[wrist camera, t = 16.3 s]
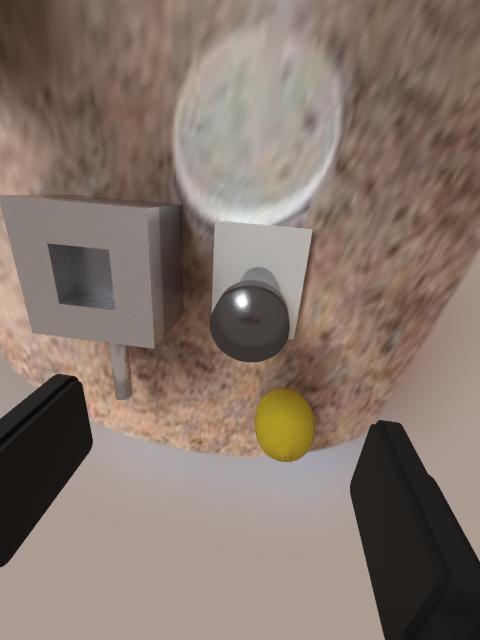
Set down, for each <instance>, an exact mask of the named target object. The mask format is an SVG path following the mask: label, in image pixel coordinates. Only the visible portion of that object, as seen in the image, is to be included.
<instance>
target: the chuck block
mask: <svg viewBox="0 0 480 640" xmlns="http://www.w3.org/2000/svg"><path fill="white" fill-rule="evenodd" d="M0 204H1V208H2V212H3V216H4V220H5V224H6V228H7V232H8V236H9V240H10V244H11V248H12V252H13V256H14V260H15V264H16V268H17V272H18V276H19V280H20V284H21V288H22V292H23V296H24V300H25V304H26V308H27V313H28V317H29V321H30V325H31V329H32V333H38V334H46V335H53V336H61V337H68V338H76V339H84V340H91V341H99V342H106V343H109V351H110V358H111V366H112V374H113V381H114V389H115V397H116V399H118V400H126V399H129V398H130V397H131V396H132V395H133V392H132V382H131V372H130V362H129V352H128V345H129V346H137V347H144V348H152V349H155V348H156V346H157V345H158V344H159V343H160V341H161V340H162V339H163V338H164V336H165V335H166V334H167V333H168V332H169V330H170V329H171V328H172V327H173V325H174V324H175V323H176V322H177V321H178V319H179V318H180V317H181V316H182V314H183V282H182V205H177V204H166V203H154V202H143V201H131V200H119V199H108V198H96V197H85V196H73V195H0Z"/></svg>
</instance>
